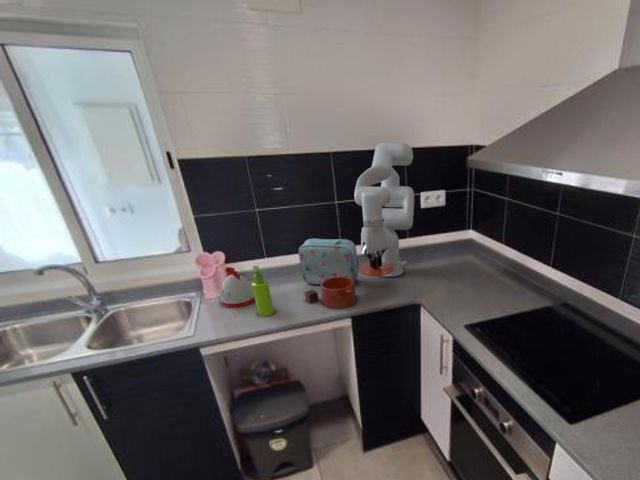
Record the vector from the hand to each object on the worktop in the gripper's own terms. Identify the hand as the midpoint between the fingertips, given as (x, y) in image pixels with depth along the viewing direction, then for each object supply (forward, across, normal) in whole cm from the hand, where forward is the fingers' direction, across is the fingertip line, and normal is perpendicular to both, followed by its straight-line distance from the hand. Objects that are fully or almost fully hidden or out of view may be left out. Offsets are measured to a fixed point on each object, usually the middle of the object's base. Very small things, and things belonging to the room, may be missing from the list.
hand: (376, 266), depth 158 cm
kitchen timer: (+15, +44, -41) cm, 62 cm away
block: (+14, +22, -18) cm, 32 cm away
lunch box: (+14, +5, -28) cm, 32 cm away
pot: (+14, +14, -9) cm, 22 cm away
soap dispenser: (+15, +41, -21) cm, 48 cm away
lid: (+1, 0, 0) cm, 1 cm away
